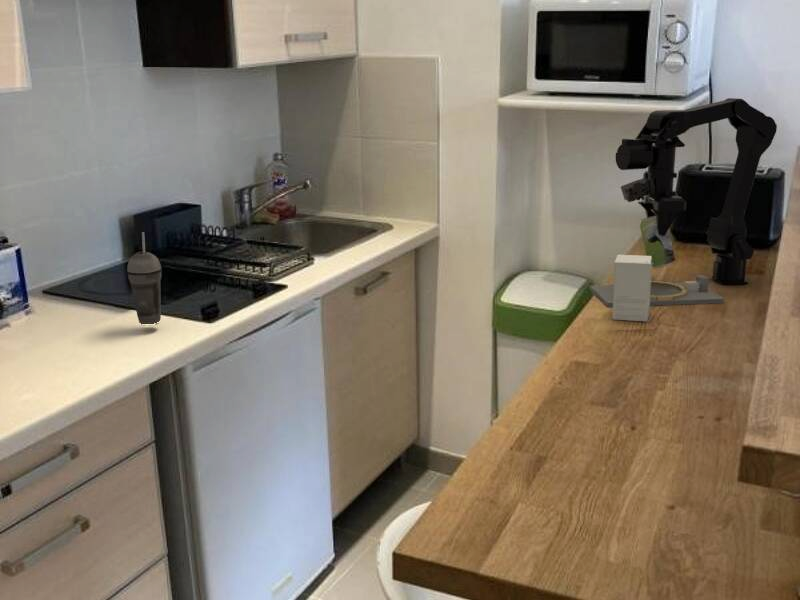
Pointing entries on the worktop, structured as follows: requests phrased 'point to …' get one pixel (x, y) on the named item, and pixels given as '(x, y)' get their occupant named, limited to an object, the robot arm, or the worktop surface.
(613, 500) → the worktop surface
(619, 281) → the supplement box
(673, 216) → the robot arm
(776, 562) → the worktop surface
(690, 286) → the tan curved band
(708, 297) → the base
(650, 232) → the beverage can
